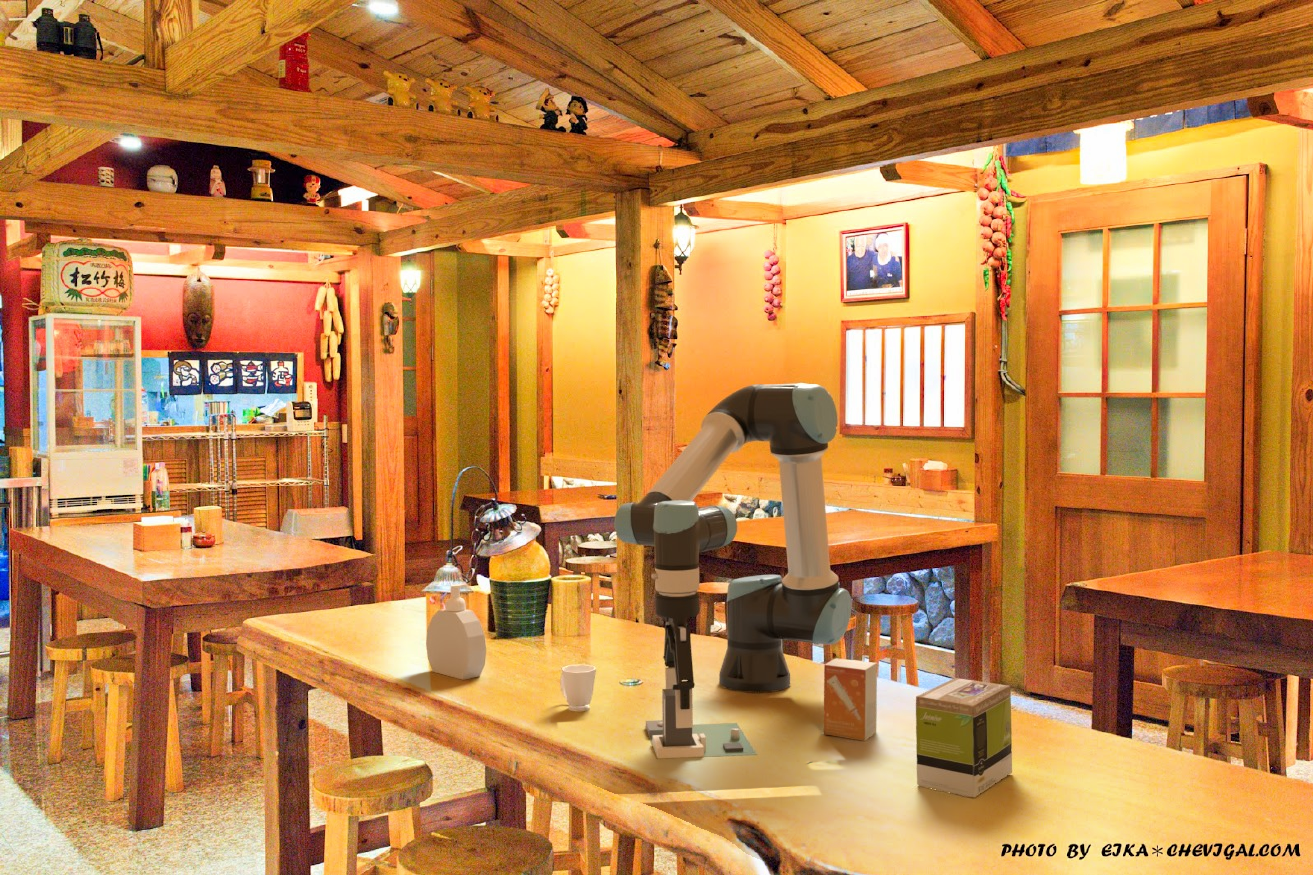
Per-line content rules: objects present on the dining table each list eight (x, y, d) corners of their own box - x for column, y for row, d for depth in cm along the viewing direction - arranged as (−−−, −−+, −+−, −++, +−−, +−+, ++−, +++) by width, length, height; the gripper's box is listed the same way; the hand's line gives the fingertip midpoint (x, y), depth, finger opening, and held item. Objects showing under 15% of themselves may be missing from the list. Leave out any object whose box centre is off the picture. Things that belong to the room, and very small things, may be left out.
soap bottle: (488, 677, 253) (487, 587, 252) (469, 682, 249) (468, 590, 248) (445, 666, 264) (444, 580, 263) (425, 670, 260) (424, 582, 259)
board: (736, 729, 212) (736, 714, 212) (757, 761, 194) (757, 745, 193) (645, 732, 211) (645, 717, 210) (657, 765, 192) (657, 749, 192)
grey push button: (678, 733, 210) (678, 718, 210) (685, 748, 201) (685, 733, 201) (645, 734, 210) (645, 719, 209) (651, 750, 200) (651, 734, 200)
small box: (823, 735, 209) (823, 664, 208) (835, 726, 214) (835, 657, 214) (865, 741, 205) (865, 669, 204) (877, 732, 210) (877, 662, 210)
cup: (573, 715, 222) (572, 674, 222) (546, 704, 230) (546, 664, 230) (603, 709, 226) (603, 669, 226) (576, 699, 235) (576, 659, 234)
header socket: (701, 742, 200) (701, 728, 200) (708, 756, 193) (708, 742, 193) (652, 744, 199) (652, 730, 199) (657, 758, 192) (657, 744, 192)
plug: (688, 745, 198) (688, 688, 198) (692, 753, 194) (692, 694, 194) (662, 746, 198) (662, 689, 198) (665, 754, 193) (665, 695, 193)
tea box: (955, 762, 193) (956, 675, 192) (1013, 775, 186) (1014, 684, 186) (914, 786, 181) (914, 693, 181) (974, 800, 175) (975, 704, 174)
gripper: (647, 580, 207) (649, 696, 208) (664, 607, 182) (666, 739, 183) (688, 578, 208) (690, 694, 209) (710, 605, 183) (712, 736, 184)
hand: (678, 715), depth 196 cm, fingers open, 13 cm apart
